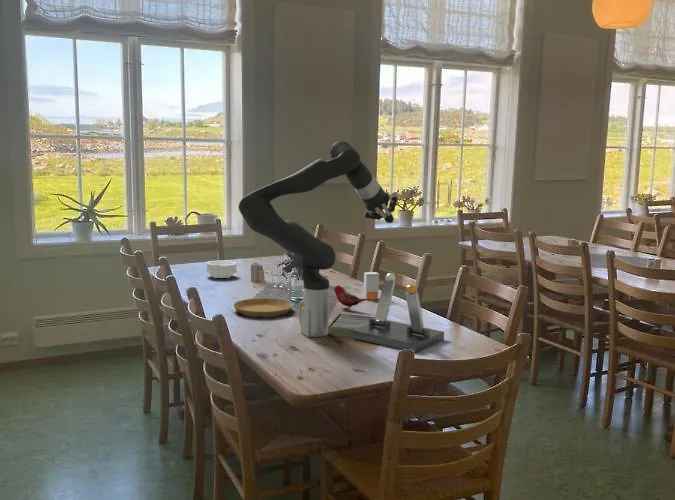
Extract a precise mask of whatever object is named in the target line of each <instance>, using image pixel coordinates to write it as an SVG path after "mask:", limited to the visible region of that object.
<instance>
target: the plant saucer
mask: <svg viewBox="0 0 675 500" xmlns="http://www.w3.org/2000/svg"><path fill="white" fill-rule="evenodd" d="M233 308H234V309H235V311H237V313H239V314H241V315H243V316H246V317H252V318H274V317H280V316H283V315H286V314H287V313H288V312H289V311H291V309H292V308H293V303H292V302H291V301H288V300H285V299H279V298H269V297H267V298H263V297H262V298H259V297H257V298H248V299H243V300H242V299H241V300H238V301H237V302H234V304H233Z"/></svg>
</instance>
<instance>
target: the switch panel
mask: <svg viewBox="0 0 675 500" xmlns="http://www.w3.org/2000/svg"><path fill="white" fill-rule="evenodd" d="M374 318H375V317H370V318H368V324H366V325H363V326H360V327H358V328H355V329H354V328H353V329H352V333H351V335H352V339H354V340H358V341H362V342H367V343H371V344H376V345H378V346H379V345H380V346H384V347H388V348H392V349H397V350H401V349H412V350H413V351H414V352H415V354H417V353H419V352H422V351H424V350H426V349H428V348H429V347H431V346H432V347H433V346H434V345H436V344H438V343H440V342H442V341H444V340H445V331H443V330H437V329H433V328H428V327H424V329H425V330H424V336H423V335H419V334H414V333H411V332H410V330H411V324H408V323H404V322H398V321H395V320H389V319H387V320H386V322H385V325H384V327H381V326H376V325H373V324H372V321H373V319H374ZM414 352H413V353H414Z"/></svg>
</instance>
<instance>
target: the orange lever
mask: <svg viewBox="0 0 675 500" xmlns="http://www.w3.org/2000/svg"><path fill="white" fill-rule="evenodd" d="M405 298H406V304H407V310H408V315H409V320H410V325H411V330H410V332H411V333H414V334H419V335H423V336H424V330H425V329H424V328H425V326H424V320H423V315H422V308H421V302H420V297H419V292H418V291H417V287H416V286H415V285H414V284H411V283H410V284H408V285H407V286H406V287H405Z"/></svg>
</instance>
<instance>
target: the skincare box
mask: <svg viewBox="0 0 675 500" xmlns="http://www.w3.org/2000/svg"><path fill="white" fill-rule="evenodd" d="M379 283H380V273H378V272H376V271H375V272H374V271H371V272H369V271H368V272H367V271H366V272H363V290H362V292H363V293H362V299H369V300H368V301H370V300H374V299H378V300H379V286H380V285H379ZM374 301H375V300H374Z"/></svg>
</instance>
